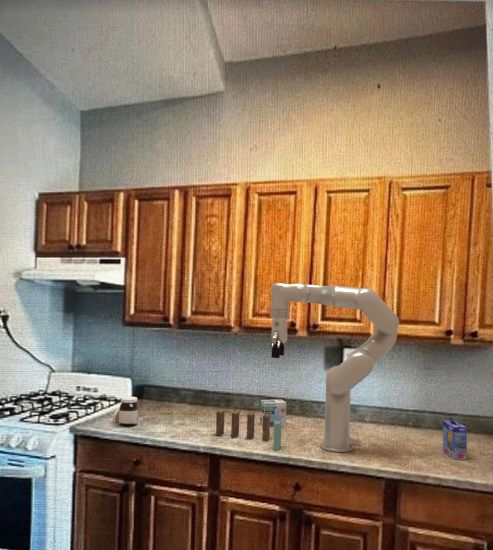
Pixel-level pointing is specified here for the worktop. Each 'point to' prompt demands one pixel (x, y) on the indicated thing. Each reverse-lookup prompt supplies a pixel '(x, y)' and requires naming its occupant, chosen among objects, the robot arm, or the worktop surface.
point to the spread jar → (127, 412)
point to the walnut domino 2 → (235, 424)
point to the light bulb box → (273, 411)
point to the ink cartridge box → (455, 439)
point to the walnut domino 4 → (266, 427)
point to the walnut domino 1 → (220, 422)
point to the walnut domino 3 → (250, 425)
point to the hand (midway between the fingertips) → (277, 356)
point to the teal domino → (277, 436)
